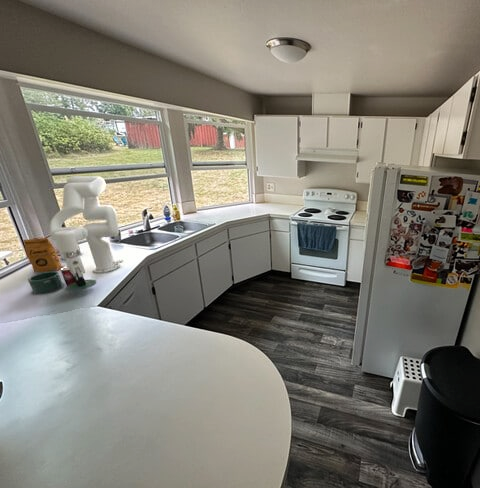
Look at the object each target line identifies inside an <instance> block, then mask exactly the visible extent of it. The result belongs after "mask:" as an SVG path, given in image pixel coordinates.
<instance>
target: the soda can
mask: <svg viewBox="0 0 480 488" xmlns="http://www.w3.org/2000/svg"><path fill="white" fill-rule="evenodd" d="M60 273H61V275H62V278H63V280H64V283H65V287H67V286H68V285H70V284H72V283H75V279H74V275H73V274H72V273H71V272H70V270H69V268H68V266H67V265H66V266H62V267H61V268H60ZM75 278H76V277H75Z"/></svg>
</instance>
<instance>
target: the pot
mask: <svg viewBox="0 0 480 488" xmlns="http://www.w3.org/2000/svg"><path fill="white" fill-rule="evenodd" d="M59 273H60V272H58V271H47V272H38V273H37V274H35V275H32V276H30V277H28V279H27V281H28V283H29V286H30V288H31V290H32V292H33V294H35V295H43V294H49V293H52V292H55V291H58V290H59V289H61V288H62V287H63V286H64V283H63V281H62V278H61V275H60V274H59Z"/></svg>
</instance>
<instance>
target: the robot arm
mask: <svg viewBox="0 0 480 488" xmlns="http://www.w3.org/2000/svg"><path fill="white" fill-rule="evenodd" d="M106 187H107V184H106V181H105V179H104V178H103V177H101V176H97V175H96V176H95V175H93V176H92V175H90V176H89V175H87V176H83V175H82V176H80V175H79V176H70V177H68V178H67V179H66V183H65V184H64V186H63V189H62V191H63V193H62V208H61V209H60V210H59V211H58V212H57V213H55V215H54V216H53V217H52V219H50V224H49V236H50V238H51V240H53V241H55V244H56V247H57V250H58V252H59V256H60V259H62V260H65V263H66V266H68V268H69V270H70V272H71V273H72V274H73V275H74V279H75V277H76V279H77V280H76V279H75V282H76V284H77V285H78V286H83V285H86V282H85V280H86V279H85V278H84V275H83V274H86V273H87V271H86V269H85V266H84V263H83V261H82V259H81V257H80V256H81V255H82V252H81V249H80V250H79V247H80V246H79V247H78V245H79V243H78V244H77V241H78V242H79V241H83V240H86V243H87V244H88V247H89V250H90V253H91V256H92V259H93V263H94V265H95V268H94V269H93V272H94V273H97V274H101V273H108V272H112V271H114V270H117V269H118V268H119V264H122V263H124V260H123V259H116V260H115V259H114V257H113V253H112V251H111V247H110V243H109V241H108V240H107V239H105V238H114V237H117V236H118V235H119V233H120V230H119V229H120V228H119V222H118V216H117V212H116V209H115V208H114V206H112V205H109V204H100V199H99V196H100V195H101V194H102V193H103V192H104V191H105V190H106ZM80 214H82V216H83V219H84V220H85V221H88V222H90V223H86V224H84V225H82V226H66V227H62V224H63V223H64V224H65V223H66V221H67V220H69V219H71V218H73V217H75V216H77V215H80ZM96 221H98V222H96ZM99 221H105V222H99ZM80 252H81V253H80Z"/></svg>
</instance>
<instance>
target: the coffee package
mask: <svg viewBox="0 0 480 488" xmlns="http://www.w3.org/2000/svg"><path fill="white" fill-rule="evenodd" d="M23 243H24V250H25V255H26V256H27V258H28V261H29V263H30V265H31V266H32V269H33V273H34V274H35V273H37V274H38V273H43V272H44V273H45V272H56V271H59V270H61V269H62V268H63V265H62V263H61V260H60V259H61V258H60V257H59V256H58V253H57V251H56V249H55V247H54V246H53V244H52V243H51V241H50V240H49V238H47V237H41V238H27V239H23Z"/></svg>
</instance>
